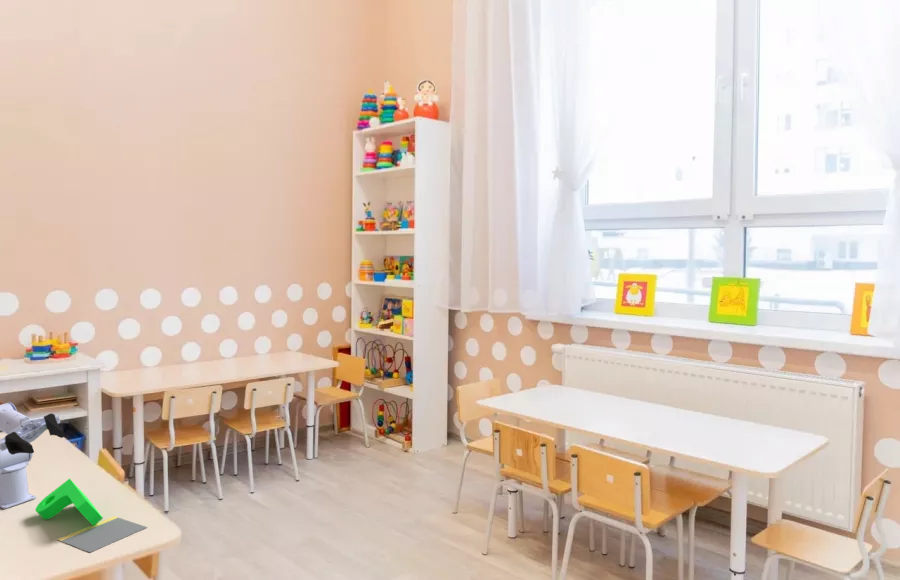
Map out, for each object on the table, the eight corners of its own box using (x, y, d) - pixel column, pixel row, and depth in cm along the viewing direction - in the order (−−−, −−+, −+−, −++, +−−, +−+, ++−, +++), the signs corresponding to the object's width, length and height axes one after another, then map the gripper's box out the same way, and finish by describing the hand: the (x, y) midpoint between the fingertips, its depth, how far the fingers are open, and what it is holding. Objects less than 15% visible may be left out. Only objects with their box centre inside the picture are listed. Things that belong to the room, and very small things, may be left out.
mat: (57, 539, 158) (57, 539, 158) (114, 516, 170) (114, 516, 170) (89, 552, 151) (89, 552, 151) (147, 527, 163) (147, 527, 163)
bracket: (52, 526, 174) (33, 506, 171) (87, 498, 179) (69, 478, 176) (67, 553, 159) (46, 531, 156) (105, 521, 163) (86, 500, 161)
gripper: (-17, 426, 169) (12, 442, 162) (42, 399, 180) (72, 413, 173) (-9, 450, 172) (20, 467, 165) (49, 422, 183) (78, 437, 176)
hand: (47, 441), depth 169 cm, fingers open, 7 cm apart
